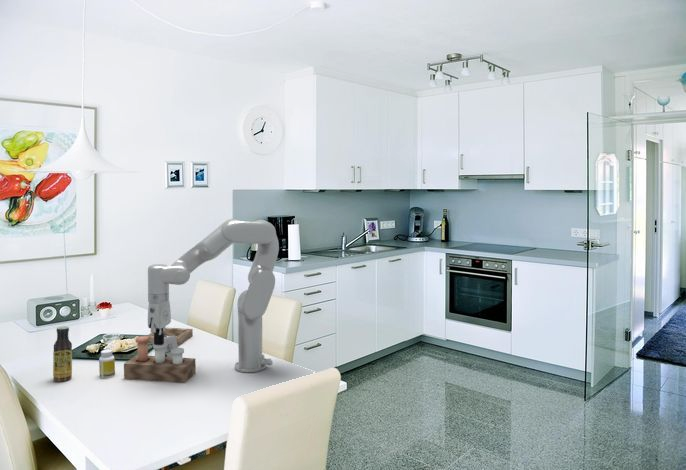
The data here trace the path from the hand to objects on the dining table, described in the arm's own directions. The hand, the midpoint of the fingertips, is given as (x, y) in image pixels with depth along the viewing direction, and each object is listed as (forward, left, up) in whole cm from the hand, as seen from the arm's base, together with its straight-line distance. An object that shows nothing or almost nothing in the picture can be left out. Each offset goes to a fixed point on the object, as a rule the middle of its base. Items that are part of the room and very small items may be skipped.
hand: (159, 344), depth 200 cm
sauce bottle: (+34, +9, -13) cm, 37 cm away
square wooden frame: (+17, -43, -13) cm, 48 cm away
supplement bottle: (+20, +3, -13) cm, 24 cm away
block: (0, 0, -13) cm, 13 cm away
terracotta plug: (+7, 0, -8) cm, 11 cm away
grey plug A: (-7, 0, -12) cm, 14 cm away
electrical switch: (+7, -19, -13) cm, 24 cm away
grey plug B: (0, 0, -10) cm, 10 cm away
